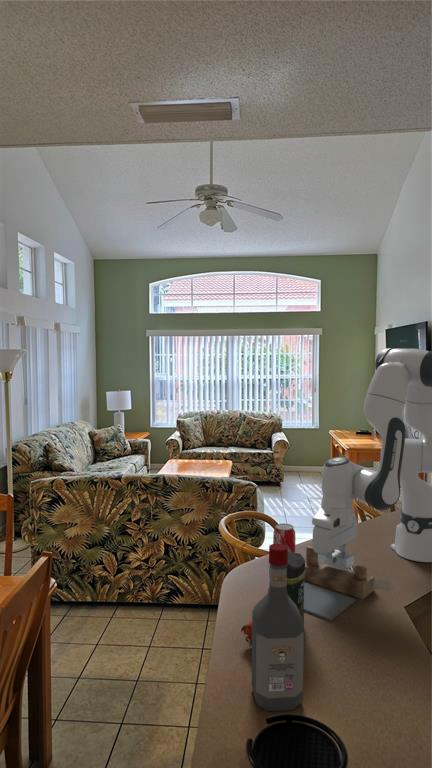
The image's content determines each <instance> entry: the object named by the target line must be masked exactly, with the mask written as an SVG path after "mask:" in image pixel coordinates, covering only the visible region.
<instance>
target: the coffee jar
mask: <svg viewBox="0 0 432 768" xmlns="http://www.w3.org/2000/svg"><path fill="white" fill-rule="evenodd" d="M305 562H306V558H305V557H304V556H303V555H302V554H301V553H297V552H295V553H294V552H290V551H288V564H287V593H288V596H289V597H290V598H291V600H292V601H293V602H294V603H295V604H296V606H297V608H298V610H299V612H300V614H301V616H302V619H303V622H304V623H305V611H304V582H305V580H304V578H305ZM268 574H269V578H270V567H269V570H268Z"/></svg>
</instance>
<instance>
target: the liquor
mask: <svg viewBox="0 0 432 768" xmlns="http://www.w3.org/2000/svg"><path fill="white" fill-rule="evenodd" d="M268 564H269V568H270V577H269V587H268V589H267V594H266V595H264V597H262V599H260V600H259V601H258V602H257V603H256V604H255V605H254V607H253V610H252V611H251V613H252V615H251V617H252V618H251V619H252V620H251V621H252V646H251V687H252V693H253V696H254V699H255V704H256V705H257V706H258V707H259V708H261V709H263V710H265V711H267V712H281V711H282V712H284V711H294V710H295V709H296V708H297V707H298V706H300V704H301V703H302V701H303V700H304V655H305V654H304V652H305V651H304V647H305V644H304V643H305V640H304V639H305V621H304V622H303V619H302V616H301V614H300V612H299V610H298V608H297V606H296V604H295V603H294V602H293V601H292V600H291V598H290V597H289V596H288V593H287V564H288V546H286V545H284V544H273V543H272V544H270V545H269V547H268Z"/></svg>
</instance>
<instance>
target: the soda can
mask: <svg viewBox="0 0 432 768" xmlns="http://www.w3.org/2000/svg"><path fill="white" fill-rule="evenodd" d="M294 528H295V527H294V526H293V524H290V523H278V524H276V525H275V528H274V530H273V535H272V536H273V537H272V538H273V541H272V544H284V545H286V546H288V551H290V552H294V553H296V530H295V529H294Z"/></svg>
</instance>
